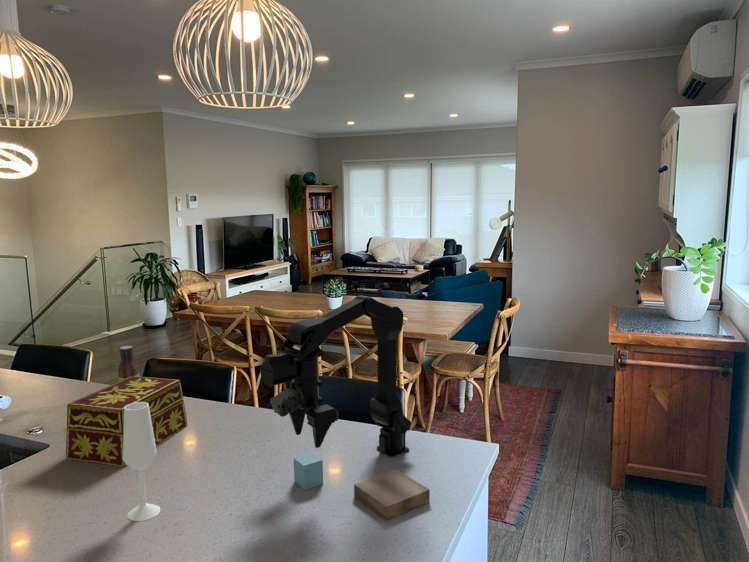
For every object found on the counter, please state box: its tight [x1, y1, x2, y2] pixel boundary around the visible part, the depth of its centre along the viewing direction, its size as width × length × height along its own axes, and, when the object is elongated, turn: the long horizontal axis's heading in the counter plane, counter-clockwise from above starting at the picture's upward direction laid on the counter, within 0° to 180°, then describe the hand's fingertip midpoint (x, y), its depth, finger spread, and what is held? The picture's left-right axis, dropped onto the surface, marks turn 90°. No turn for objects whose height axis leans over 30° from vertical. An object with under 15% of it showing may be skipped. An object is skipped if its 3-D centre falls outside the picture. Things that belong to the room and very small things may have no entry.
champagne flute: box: [123, 402, 161, 522], centre depth 120 cm, size 7×7×24 cm
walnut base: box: [353, 468, 431, 521], centre depth 126 cm, size 12×12×3 cm
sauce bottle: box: [118, 345, 140, 382], centre depth 186 cm, size 7×6×20 cm
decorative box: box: [65, 375, 189, 468], centre depth 158 cm, size 28×19×15 cm
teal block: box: [293, 452, 324, 491], centre depth 134 cm, size 5×5×6 cm
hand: (307, 440), depth 133 cm, fingers open, 9 cm apart
